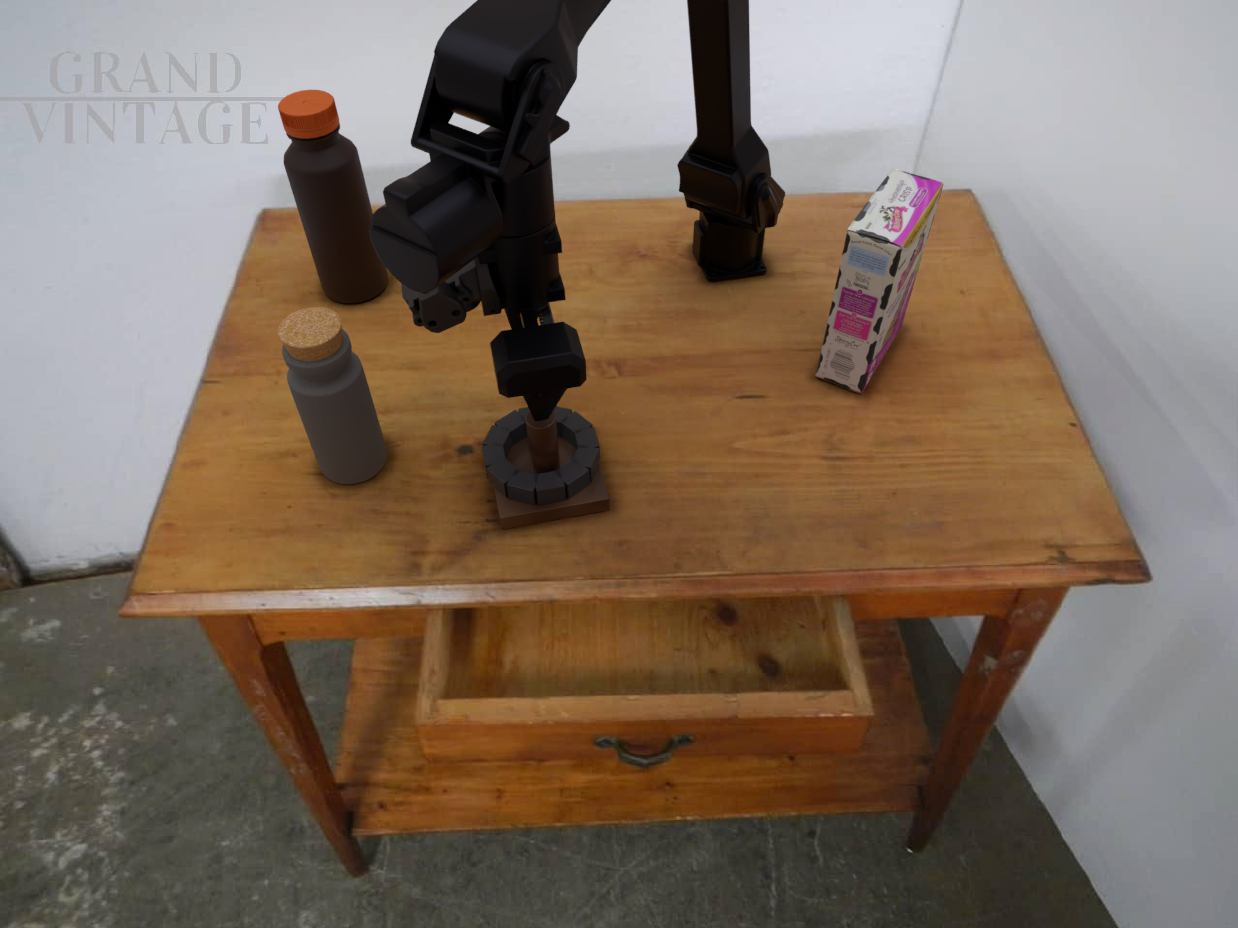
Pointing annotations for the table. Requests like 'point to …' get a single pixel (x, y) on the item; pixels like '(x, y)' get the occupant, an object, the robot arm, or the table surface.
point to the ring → (549, 483)
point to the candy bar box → (877, 277)
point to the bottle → (332, 396)
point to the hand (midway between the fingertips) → (531, 379)
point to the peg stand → (544, 456)
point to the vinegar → (331, 197)
